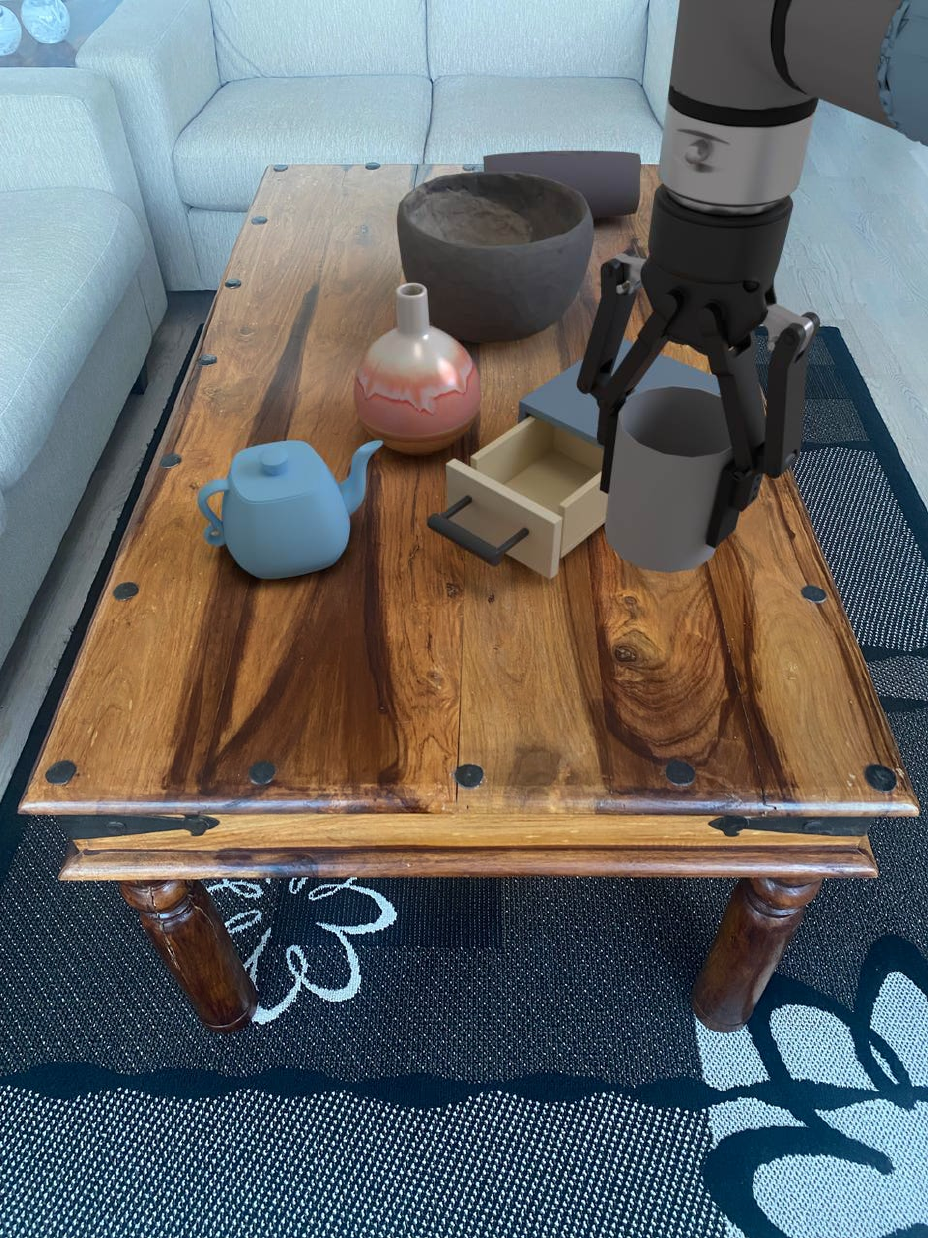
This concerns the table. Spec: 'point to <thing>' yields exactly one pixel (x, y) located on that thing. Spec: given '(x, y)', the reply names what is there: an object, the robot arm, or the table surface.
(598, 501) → the open pull-out drawer
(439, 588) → the table surface
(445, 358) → the vase
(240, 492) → the teapot
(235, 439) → the table surface
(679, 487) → the cup
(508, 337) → the bowl
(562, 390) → the cabinet
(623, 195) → the bluetooth speaker
